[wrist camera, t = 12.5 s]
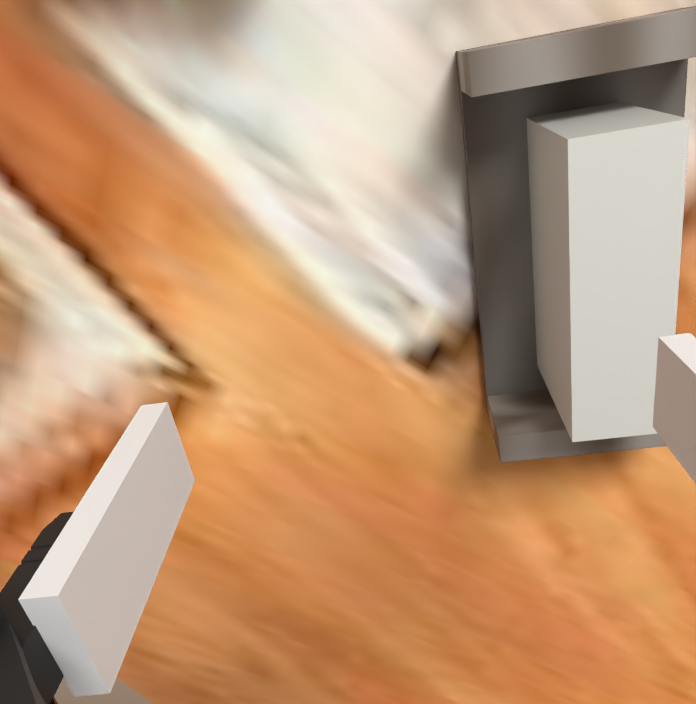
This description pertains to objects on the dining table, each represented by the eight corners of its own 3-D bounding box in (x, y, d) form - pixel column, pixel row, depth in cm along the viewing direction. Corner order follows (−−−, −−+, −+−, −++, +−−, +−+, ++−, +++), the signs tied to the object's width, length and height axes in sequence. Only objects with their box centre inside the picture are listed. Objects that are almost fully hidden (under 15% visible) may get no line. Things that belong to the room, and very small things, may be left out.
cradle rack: (487, 411, 44) (500, 462, 39) (455, 51, 34) (468, 52, 29) (659, 391, 43) (698, 442, 37) (681, 8, 32) (740, 0, 27)
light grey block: (537, 365, 41) (572, 442, 33) (526, 118, 34) (567, 139, 26) (613, 356, 40) (668, 432, 32) (618, 101, 34) (689, 118, 26)
